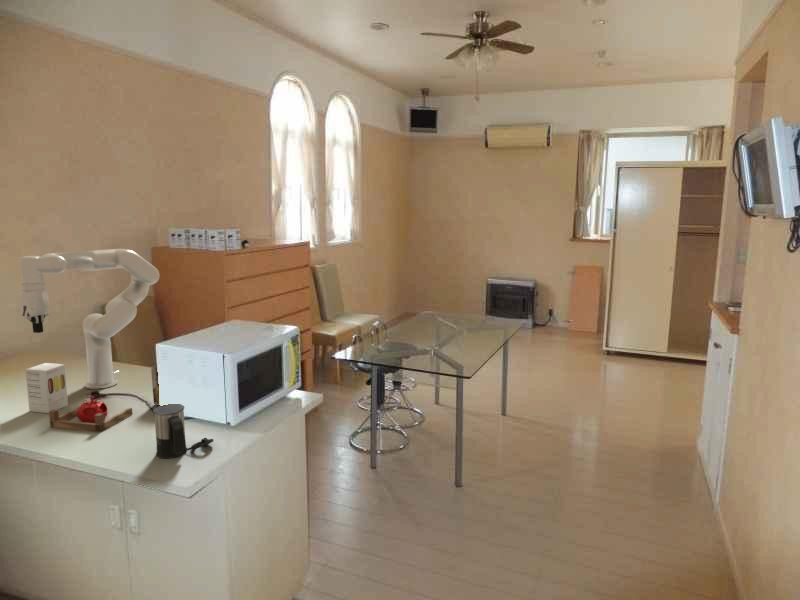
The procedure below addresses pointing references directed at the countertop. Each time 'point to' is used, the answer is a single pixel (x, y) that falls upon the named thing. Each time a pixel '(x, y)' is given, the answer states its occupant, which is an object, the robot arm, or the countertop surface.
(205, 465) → the countertop surface
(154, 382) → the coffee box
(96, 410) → the red tomato
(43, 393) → the supplement box
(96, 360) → the robot arm
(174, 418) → the milk frother
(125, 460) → the countertop surface
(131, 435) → the countertop surface
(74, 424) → the display stand
